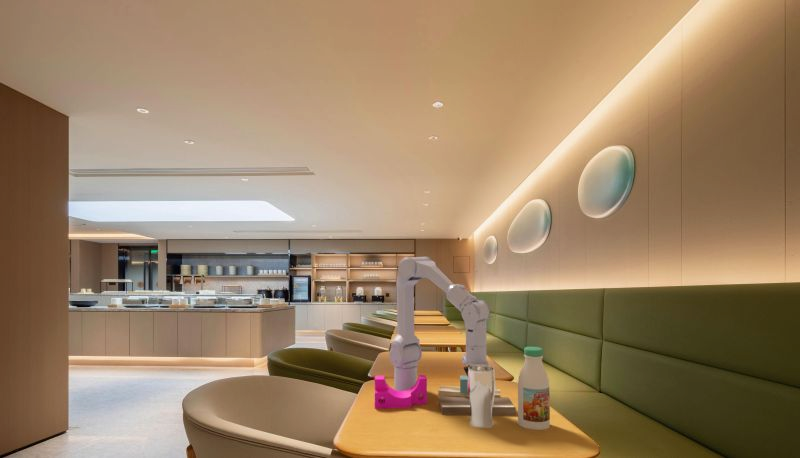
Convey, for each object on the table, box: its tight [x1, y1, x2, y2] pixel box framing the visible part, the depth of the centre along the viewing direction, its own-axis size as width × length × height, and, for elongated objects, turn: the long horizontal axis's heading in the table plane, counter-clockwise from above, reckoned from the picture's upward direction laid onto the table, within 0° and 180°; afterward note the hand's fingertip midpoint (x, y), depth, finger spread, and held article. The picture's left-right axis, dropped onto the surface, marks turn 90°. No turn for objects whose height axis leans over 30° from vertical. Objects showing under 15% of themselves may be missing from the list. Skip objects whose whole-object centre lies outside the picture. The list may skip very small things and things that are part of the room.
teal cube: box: [459, 375, 468, 394], centre depth 137 cm, size 4×4×4 cm
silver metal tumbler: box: [468, 365, 496, 429], centre depth 117 cm, size 7×7×15 cm
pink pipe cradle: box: [374, 374, 428, 409], centre depth 134 cm, size 15×6×8 cm, turn 93°
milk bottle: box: [517, 346, 551, 431], centre depth 117 cm, size 8×8×20 cm
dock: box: [438, 396, 516, 416], centre depth 129 cm, size 8×20×2 cm, turn 90°
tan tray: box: [437, 385, 501, 401], centre depth 138 cm, size 5×18×3 cm, turn 78°
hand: (476, 393), depth 130 cm, fingers closed
